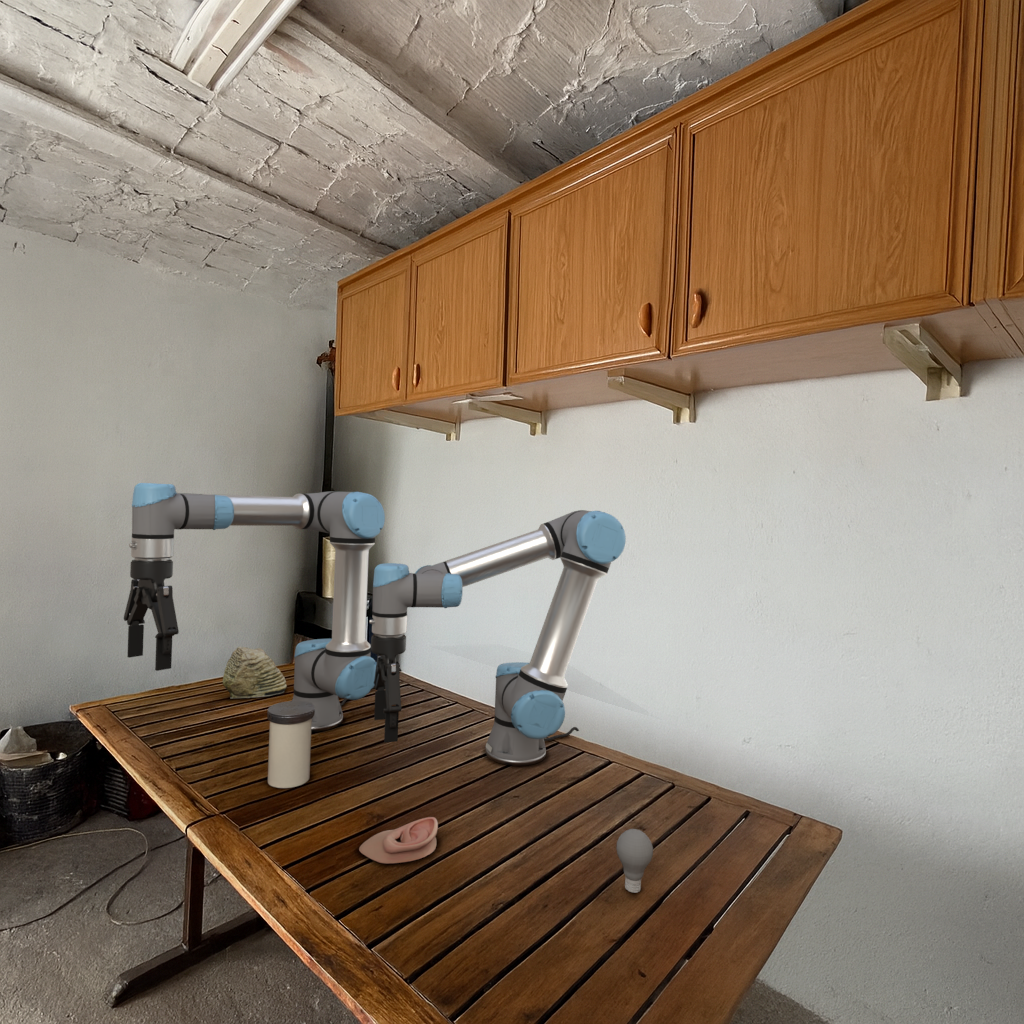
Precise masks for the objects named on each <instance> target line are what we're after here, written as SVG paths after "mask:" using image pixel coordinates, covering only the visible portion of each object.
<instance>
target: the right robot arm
mask: <svg viewBox="0 0 1024 1024" xmlns="http://www.w3.org/2000/svg"><path fill="white" fill-rule="evenodd" d="M626 540H627V538H626V532H625V529H624V527H623V525H622V523H621V522H620V521H619V519H618V518H617V517H615V516H614V515H612V514H611V513H607V512H605V511H601V510H586V509H585V510H584V509H580V510H573V511H571V512H568V513H567V514H564V515H562V516H559V517H557V518H554V519H552V520H549V521H547V522H544V523H540V525H539V527H538V528H537V529H535V530H533V531H530V532H527V533H524V534H520V535H518V536H515V537H512V538H509V539H506V540H503V541H500V542H497V543H494V544H491V545H488V546H486V547H485V546H484V547H483V548H480V549H476V550H473V551H471V552H468V553H464V554H462V555H459V556H456V557H453V558H449V559H447V560H445V561H441V562H439V563H435V564H433V565H431V564H427V565H423V566H420V567H419V568H417V570H416V571H415V572H414V573H413V572H410V568H409V566H408V565H407V564H405V563H393V562H387V563H379V564H377V565H376V566H375V568H374V569H373V570H374V571H373V584H372V612H371V613H372V619H369V622H368V623H369V625H371V633H372V635H371V639H370V645H371V653H372V654H374V655H377V656H376V670H375V678H374V685H375V688H374V689H375V690H374V715H373V718H374V719H373V720H374V721H381V720H382V721H383V720H384V733H383V734H384V735H383V736H384V737H383V742H384V743H395V742H396V743H397V742H398V741H399V719H400V716H399V714H400V712H401V711H402V698H401V697H402V696H401V681H400V680H401V679H400V671H399V668H400V667H401V664H400V662H399V661H397V656H398V655H402V654H404V653H405V652H406V650H407V636H406V633H407V630H408V629H407V628H408V608H444V609H447V608H457V607H459V606H461V604H462V600H463V591H464V589H463V588H464V587H467V586H470V585H473V584H476V583H479V582H482V581H486V580H487V579H491V578H494V577H496V576H499V575H501V574H502V575H503V574H505V573H508V572H511V571H513V570H516V569H520V568H523V567H525V566H528V565H531V564H533V563H536V562H539V561H543V560H546V559H549V560H552V561H554V560H555V561H556V560H558V559H560V561H561V563H562V566H563V568H562V571H561V574H560V577H559V580H558V582H557V585H556V588H555V591H554V594H553V596H552V599H551V602H550V604H549V608H548V610H547V613H546V616H545V619H544V622H543V625H542V627H541V630H540V633H539V635H538V638H537V641H536V643H535V648H534V650H533V652H532V655H531V659H530V661H529V662H525V661H523V662H519V661H518V662H517V661H516V662H515V661H514V662H504V663H500V664H499V665H498V666H497V667H496V673H495V676H494V677H495V692H494V694H495V695H494V697H495V698H494V719H493V725H492V728H491V730H490V733H489V735H488V738H487V741H486V744H485V755H486V756H487V758H488V759H490V760H491V761H493V762H495V763H498V764H502V765H505V766H511V767H512V766H514V767H523V766H525V767H526V766H532V765H535V764H539V763H541V762H542V761H543V760H545V758H546V756H547V747H546V742H550V741H554V740H556V739H561V738H566V737H569V736H570V735H571V734H572V733H573V732H574V731H575V732H580V730H579V729H580V728H578V727H577V726H574V727H571V729H569V730H568V731H567V732H565V733H561V734H556V733H557V732H558V731H559V729H560V728H561V727H562V725H563V723H564V721H565V718H566V709H565V708H566V707H565V703H564V702H563V701H564V698H565V695H566V693H567V689H568V687H569V684H568V682H567V680H566V676H565V675H566V673H567V669H568V666H569V664H570V662H571V658H572V655H573V652H574V649H575V647H576V644H577V641H578V638H579V635H580V632H581V629H582V626H583V624H584V621H585V618H586V615H587V613H588V610H589V607H590V605H591V602H592V598H593V595H594V592H595V589H596V588H597V584H598V582H599V580H600V579H601V578H603V577H605V576H608V572H609V571H610V567H611V564H612V562H614V561H616V560H617V559H618V558H619V557H620V556H622V553H623V552H624V549H625V547H626V542H627V541H626ZM554 734H556V735H554Z"/></svg>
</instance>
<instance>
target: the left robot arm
mask: <svg viewBox="0 0 1024 1024" xmlns="http://www.w3.org/2000/svg"><path fill="white" fill-rule="evenodd" d="M385 515H386V513H385V511H384V508H383V505H382V503H381V502H380V501H379V500H378V498H377V497H375V495H373V494H370V493H367V492H363V491H362V492H361V491H337V490H336V491H335V490H333V491H332V490H330V491H321V492H311V493H295V494H294V495H293V496H276V495H275V496H274V495H273V496H272V495H248V494H247V495H246V494H244V495H243V494H220V493H219V494H218V493H217V494H216V493H215V494H214V493H189V492H187V493H186V492H177V491H176V486H175V485H174V484H173V483H152V482H139V483H137V484H136V485H135V486H134V488H133V492H132V501H131V520H132V521H131V542H130V543H128V547H129V548H130V549H131V550H130V556H131V558H133V559H132V560H131V561H130V567H129V568H130V571H129V574H130V575H129V576H130V578H131V581H130V590H129V594H128V598H127V603H126V607H125V610H124V615H123V621H124V622H126V624H127V626H128V629H127V630H128V631H127V658H135V657H142V656H144V635H145V634H144V630H145V625H144V624H145V623H146V621H145V619H144V618H145V616H146V615H147V612H148V609H149V610H151V613H152V618H153V620H154V624H155V627H156V631H157V633H156V635H155V636H154V638H155V661H154V663H155V665H154V668H155V669H154V670H155V671H157V672H159V671H164V670H169V669H172V659H173V657H172V655H173V637H175V636H176V635H179V632H180V631H179V625H178V619H177V615H176V614H177V613H176V609H175V603H174V597H173V595H174V593H173V585H165V580H167V579H171V578H172V577H173V575H174V573H173V572H174V561H173V560H172V559H171V558H173V557H174V554H175V553H174V552H175V530H213V531H215V530H224V529H228V528H230V526H233V527H234V526H237V527H238V526H240V527H243V526H246V527H247V526H249V527H250V526H258V527H259V526H268V527H269V526H276V527H277V526H282V527H284V526H285V527H286V526H287V527H288V526H289V527H290V526H291V527H293V528H294V529H296V530H308V531H309V530H310V531H316V532H319V533H325V534H329V544H330V545H331V546H332V547H333V548H334V550H335V551H334V572H333V573H334V577H333V599H332V625H331V626H332V627H331V638H317V639H308V640H304V641H300V642H299V643H297V645H296V646H295V650H294V655H293V657H294V672H293V673H294V674H293V695H292V696H293V697H292V699H291V701H304V702H309V703H311V704H313V705H314V708H315V714H314V717H313V718H312V728H311V733H316V732H325V731H329V730H332V729H335V728H337V727H339V726H340V725H342V723H343V722H344V714H343V709H342V706H344V705H345V704H346V702H347V701H349V700H350V701H357V700H360V699H362V698H364V697H365V696H367V695H368V694H370V692H371V690H372V689H375V685H374V678H375V670H376V663H377V661H376V660H375V659H374V657H371V653H372V651H371V643H370V642H368V640H367V639H366V631H367V607H368V606H367V605H368V604H367V602H368V582H369V581H368V579H369V555H370V553H369V552H370V550H371V548H372V547H374V545H375V544H376V536H378V535H379V534H380V533H381V530H383V528H384V526H385V522H386V521H385V520H386V516H385ZM402 671H403V670H402V669H401V668H400V667H399V672H402ZM339 698H341V699H342V702H340V699H339Z"/></svg>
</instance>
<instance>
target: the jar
mask: <svg viewBox="0 0 1024 1024" xmlns="http://www.w3.org/2000/svg"><path fill="white" fill-rule="evenodd" d="M268 727H269V730H268V755H267V757H268V758H267V759H268V760H267V781H266V782H267V784H268V785H269V786H270V787H273V788H277V789H290V788H295V787H299V786H302V785H304V784H306V783H307V782H308V781H309V780H310V777H311V752H312V732H311V728H312V719H310V720H308V721H305V722H302V723H296V724H277V723H273V722H270V721H269V726H268Z"/></svg>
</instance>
